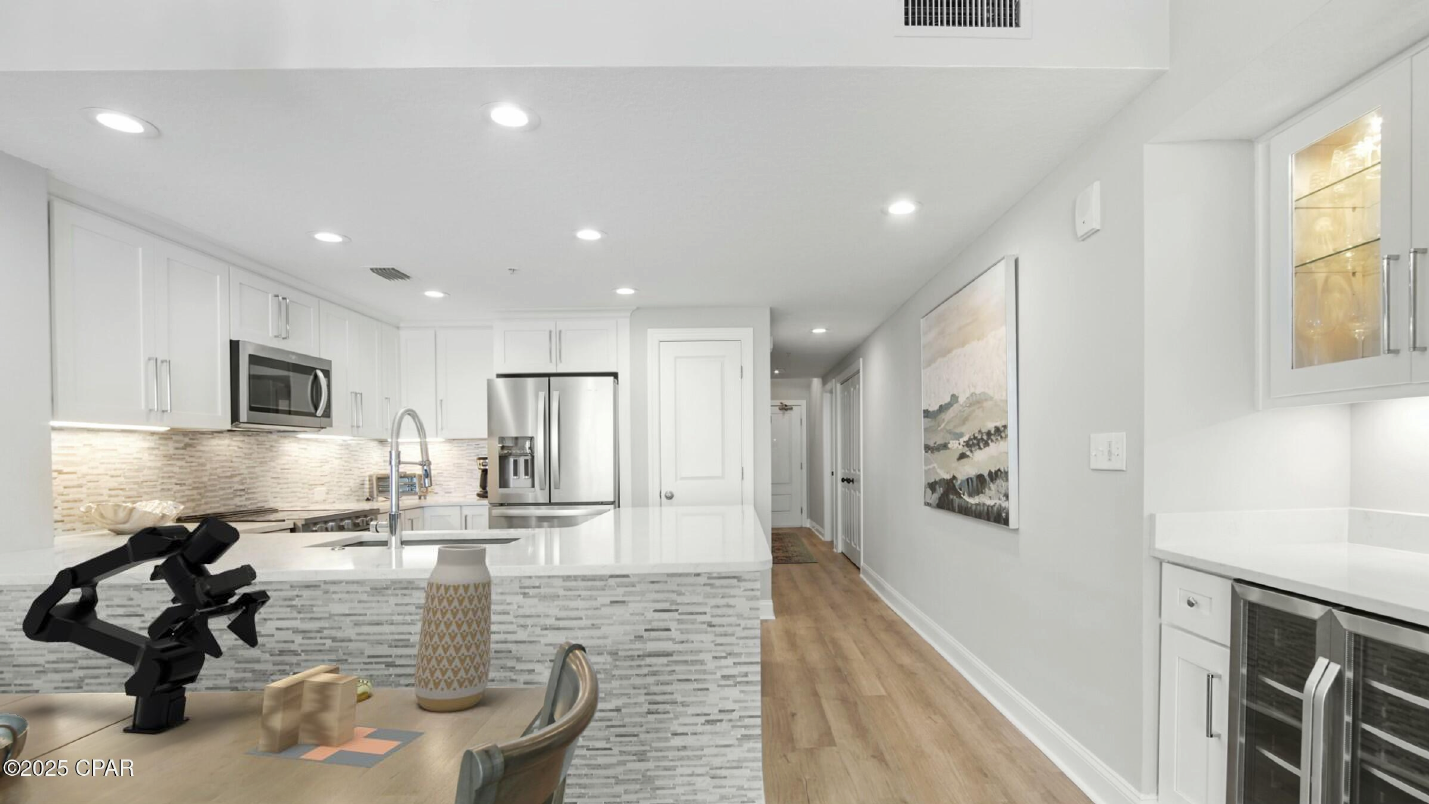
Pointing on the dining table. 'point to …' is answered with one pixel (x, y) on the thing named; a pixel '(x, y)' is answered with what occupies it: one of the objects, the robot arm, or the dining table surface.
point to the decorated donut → (363, 689)
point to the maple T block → (309, 710)
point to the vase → (455, 631)
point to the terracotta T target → (354, 745)
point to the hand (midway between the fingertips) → (238, 651)
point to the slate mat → (350, 756)
